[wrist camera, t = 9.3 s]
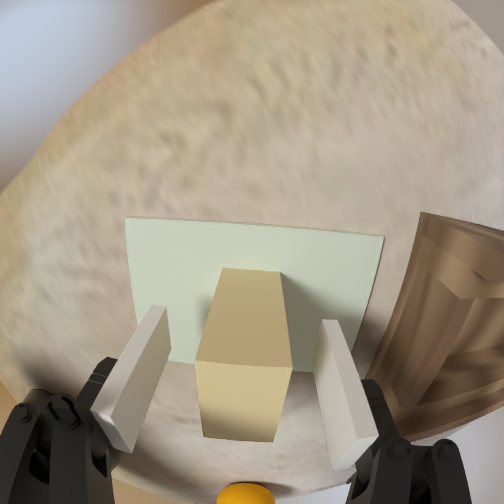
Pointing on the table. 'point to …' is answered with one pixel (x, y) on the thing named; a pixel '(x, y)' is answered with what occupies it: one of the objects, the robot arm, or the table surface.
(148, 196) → the table surface
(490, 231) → the case
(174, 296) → the lid
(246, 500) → the orange
